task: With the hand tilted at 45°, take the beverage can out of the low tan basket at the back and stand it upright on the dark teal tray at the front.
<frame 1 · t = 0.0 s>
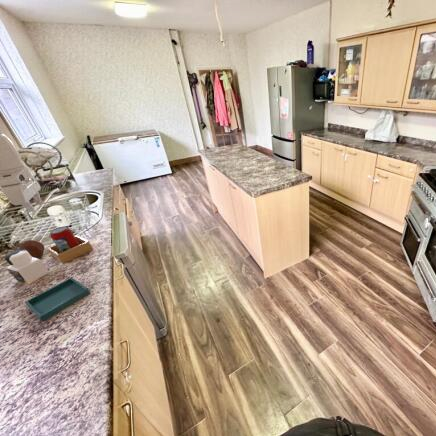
hand: (35, 206, 97), 23 cm above the counter, tool pointing down, fingers open, 8 cm apart
tray: (60, 299, 82), on the counter
beverage can: (72, 252, 107), resting on basket
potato: (37, 256, 106), on the counter
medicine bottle: (34, 277, 93), on the counter
basket: (73, 252, 107), on the counter
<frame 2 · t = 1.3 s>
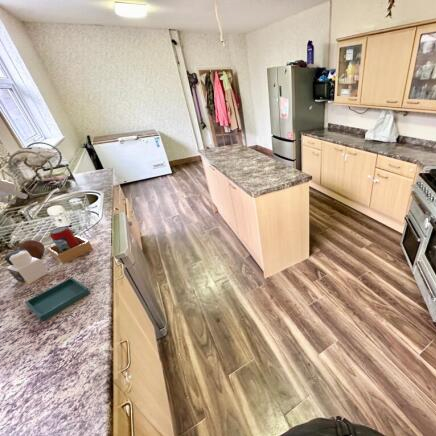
hand: (20, 199, 94), 27 cm above the counter, tool tilted 45°, fingers open, 8 cm apart
nothing on the counter moved.
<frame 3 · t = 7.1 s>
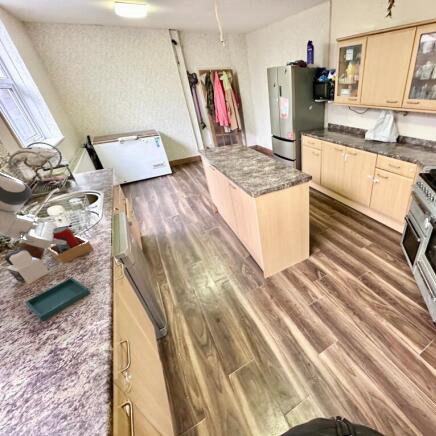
hand: (66, 238, 103), 7 cm above the counter, tool tilted 45°, fingers closed on beverage can, 7 cm apart
beverage can: (72, 252, 107), resting on basket, touching gripper
everything else where it was.
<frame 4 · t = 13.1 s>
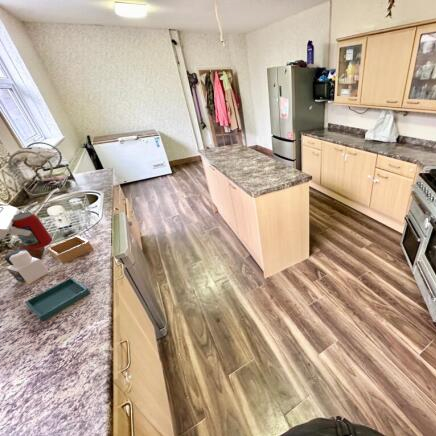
hand: (32, 228, 80), 23 cm above the counter, tool tilted 45°, fingers closed on beverage can, 7 cm apart
beverage can: (41, 245, 83), point 16 cm above the counter, touching gripper
everything else where it was.
when the fingers open (7 cm above the counter, at t = 19.5 s): beverage can stays where it is, resting on tray.
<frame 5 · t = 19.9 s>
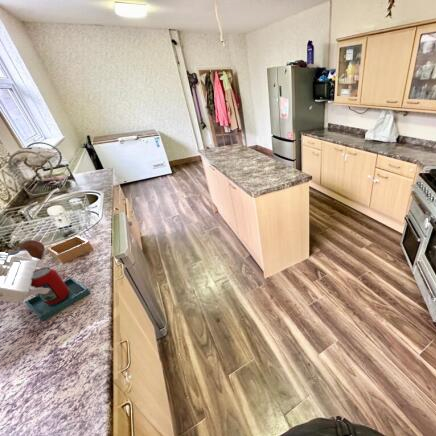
hand: (50, 282, 79), 8 cm above the counter, tool tilted 45°, fingers open, 8 cm apart
beverage can: (59, 298, 82), resting on tray
everything else where it was.
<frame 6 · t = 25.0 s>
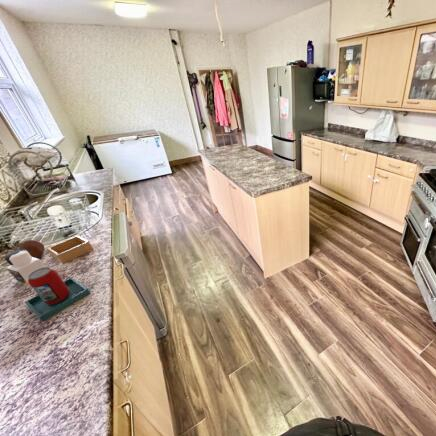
nothing on the counter moved.
at the end: beverage can inside the target area in the tray (0.1 cm from its centre), point 0.4 cm above the tray's base; beverage can tilted 0°; the gripper is holding nothing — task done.
